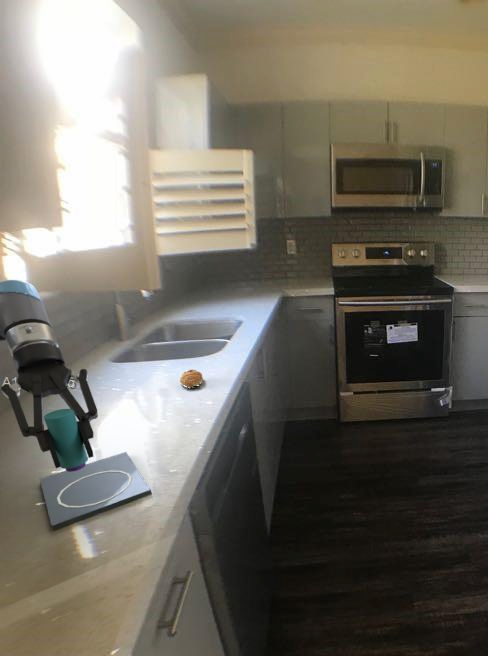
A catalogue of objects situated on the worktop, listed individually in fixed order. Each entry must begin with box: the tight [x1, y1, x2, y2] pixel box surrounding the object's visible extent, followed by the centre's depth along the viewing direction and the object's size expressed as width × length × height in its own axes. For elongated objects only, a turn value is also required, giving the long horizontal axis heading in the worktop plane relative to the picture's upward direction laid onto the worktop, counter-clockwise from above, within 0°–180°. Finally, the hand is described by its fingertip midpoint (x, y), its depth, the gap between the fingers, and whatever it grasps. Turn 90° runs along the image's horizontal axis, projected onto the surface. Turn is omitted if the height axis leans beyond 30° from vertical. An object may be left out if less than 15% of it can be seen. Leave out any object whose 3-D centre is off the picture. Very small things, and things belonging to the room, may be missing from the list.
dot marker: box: [44, 408, 89, 472], centre depth 83 cm, size 4×4×11 cm
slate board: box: [39, 451, 153, 531], centre depth 91 cm, size 20×16×1 cm
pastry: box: [179, 369, 204, 388], centre depth 143 cm, size 9×7×4 cm
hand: (74, 459), depth 82 cm, fingers closed on dot marker, 4 cm apart
